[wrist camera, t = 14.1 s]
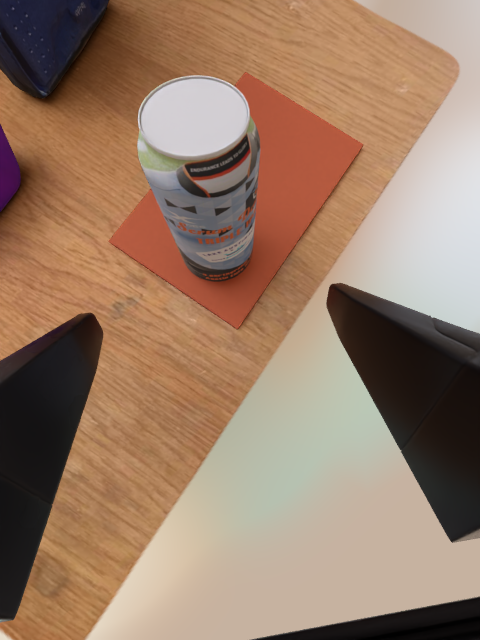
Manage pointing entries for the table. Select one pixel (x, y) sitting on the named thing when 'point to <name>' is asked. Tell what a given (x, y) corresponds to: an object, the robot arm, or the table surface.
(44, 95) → the book
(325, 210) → the table surface
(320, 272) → the table surface
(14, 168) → the crystal
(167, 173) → the beverage can
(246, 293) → the terracotta mat
